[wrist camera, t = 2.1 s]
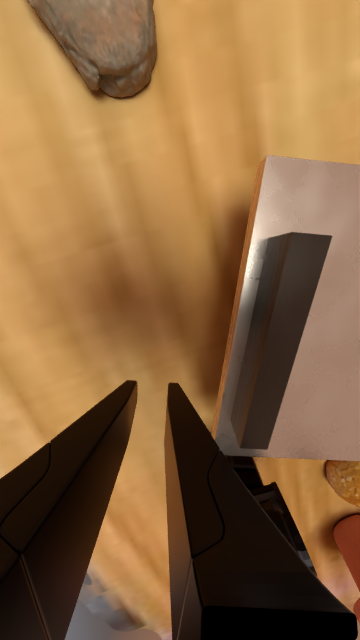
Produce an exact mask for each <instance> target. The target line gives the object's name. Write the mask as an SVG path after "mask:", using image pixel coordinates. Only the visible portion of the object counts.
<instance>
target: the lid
mask: <svg viewBox="0 0 360 640" xmlns="http://www.w3.org/2000/svg"><path fill="white" fill-rule="evenodd" d="M211 435H212V437H213V438H214V440H215V442H216V443H217V445H218V446H219V448H220V450H221V451H222V452H223V454H224V455H229V456H252V457H274V458H297V459H320V460H343V461H360V165H354V164H345V163H336V162H326V161H317V160H308V159H298V158H289V157H280V156H270V155H266V157H265V158H264V159H263V160H262V161H261V163H260V164H259V165H258V166H257V172H256V177H255V183H254V189H253V195H252V201H251V206H250V212H249V218H248V224H247V230H246V235H245V241H244V247H243V253H242V259H241V264H240V270H239V276H238V282H237V288H236V293H235V299H234V305H233V311H232V317H231V323H230V328H229V334H228V340H227V346H226V352H225V357H224V363H223V369H222V375H221V381H220V386H219V392H218V398H217V404H216V410H215V415H214V421H213V427H212V433H211Z"/></svg>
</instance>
